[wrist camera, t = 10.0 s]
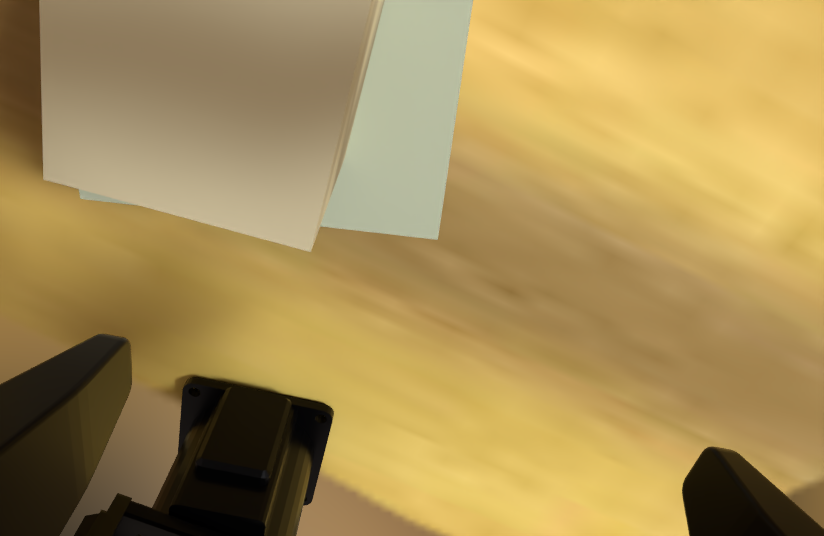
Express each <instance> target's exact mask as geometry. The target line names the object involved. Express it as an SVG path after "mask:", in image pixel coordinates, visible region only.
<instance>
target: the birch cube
mask: <svg viewBox="0 0 824 536" xmlns="http://www.w3.org/2000/svg"><path fill="white" fill-rule="evenodd" d="M384 1H385V0H39V10H40V54H41V97H42V141H43V180H47V181H51V182H54V183H58V184H62V185H65V186H69V187H73V188H77V189H80V190H84V191H88V192H91V193H95V194H99V195H102V196H106V197H110V198H113V199H117V200H121V201H124V202H128V203H132V204H136V205H139V206H143V207H147V208H150V209H154V210H158V211H161V212H165V213H169V214H172V215H176V216H180V217H183V218H187V219H191V220H194V221H198V222H202V223H206V224H209V225H213V226H217V227H220V228H224V229H228V230H231V231H235V232H239V233H242V234H246V235H250V236H253V237H257V238H261V239H265V240H268V241H272V242H276V243H279V244H283V245H287V246H290V247H294V248H298V249H301V250H305V251H309V252H311V250H312V247H313V244H314V242H315V239H316V236H317V233H318V230H319V228H320V225H321V222H322V219H323V217H324V214H325V211H326V208H327V206H328V203H329V200H330V197H331V195H332V192H333V189H334V186H335V184H336V181H337V178H338V175H339V173H340V170H341V167H342V164H343V162H344V159H345V155H346V151H347V147H348V143H349V139H350V135H351V131H352V127H353V124H354V120H355V116H356V112H357V108H358V104H359V100H360V96H361V92H362V88H363V84H364V80H365V76H366V72H367V68H368V64H369V60H370V56H371V52H372V48H373V44H374V40H375V36H376V32H377V28H378V25H379V21H380V17H381V13H382V9H383V5H384Z"/></svg>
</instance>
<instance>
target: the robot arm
mask: <svg viewBox="0 0 824 536" xmlns="http://www.w3.org/2000/svg"><path fill="white" fill-rule="evenodd" d="M131 385H132V363H131V345H130V342H129V340H128V339H126V338H124V337H119V336H113V335H108V334H98V335H96V336H94V337H92V338H90V339H88V340H86V341H84V342H82V343H80V344H78V345H76V346H74V347H72V348H70V349H68V350H66V351H64V352H62V353H60V354H58V355H57V356H54V357H53V358H51V359H49V360H47V361H45V362H43V363H41V364H39V365H37V366H35V367H33V368H31V369H30V370H27V371H25V372H23V373H21V374H19V375H18V376H15V377H14V378H12V379H10V380H8V381H6V382H4V383H2V384H0V536H59V535H60V534H61V532H62V530H63V529H64V527H65V525H66V523H67V522H68V520H69V518H70V517H71V515H72V513H73V512H74V510H75V508H76V507H77V505H78V503H79V501H80V499H81V498H82V496H83V494H84V492H85V490H86V489H87V487H88V484H89V482H90V480H91V478H92V476H93V474H94V472H95V470H96V468H97V465H98V463H99V461H100V459H101V456H102V454H103V452H104V450H105V447H106V445H107V443H108V441H109V438H110V436H111V434H112V432H113V429H114V427H115V424H116V423H117V420H118V418H119V416H120V414H121V411H122V409H123V407H124V405H125V402H126V400H127V398H128V396H129V393H130V389H131ZM194 388H196V389H198V390H196V389H194ZM319 415H324V416H319ZM333 415H334V411H333V409H332V408H331V407H330V406H328V405H325V404H321V403H317V402H312V401H307V400H302V399H298V398H293V397H288V396H284V395H279V394H274V393H270V392H265V391H260V390H255V389H251V388H246V387H241V386H237V385H232V384H227V383H223V382H218V381H213V380H208V379H204V378H199V377H192V378H189V379H188V380H187V382H186V383H185V385H184V388H183V392H182V406H181V420H180V434H179V447H178V455H177V457H176V459H175V461H174V463H173V465H172V467H171V469H170V472H169V474H168V476H167V478H166V480H165V482H164V484H163V486H162V488H161V491H160V493H159V495H158V497H157V499H156V501H155V503H154V505H153V507H152V508H150V507H147V506H144V505H142V504H139V503H136V502H133V501H131V499H132V498H130V497H127V496H124V495H122V494H119V493H118V494H117V495H116V497H115V499H114V500H113V502H112V504H111V505H110V507H109V509H108V511H104V510H101V512H100V513H99V514H93V515H87V516H85V517H84V519H83V521H82V523H81V524H80V526H79V528H78V530H77V531H76V533H75V535H74V536H296V534H297V530H298V525H299V521H300V516H301V512H302V507H303V505H308V504H310V503H311V502H312V499H313V495H314V491H315V487H316V483H317V479H318V475H319V471H320V467H321V464H322V460H323V456H324V452H325V448H326V444H327V440H328V436H329V432H330V428H331V424H332V420H333ZM682 495H683V501H684V507H685V513H686V518H687V524H688V530H689V536H824V529H823V528H822V527H821V526H820V525H819V524H818V523H816V522H815V521H814V520H813V519H812V518H811V517H810V516H809V515H807V514H806V513H805V512H804V511H803V510H802V509H800V508H799V507H798V506H797V505H796V504H795V503H794V502H793V501H792V500H790V499H789V498H788V497H787V496H786V495H785V494H784V493H783V492H781V491H780V490H779V489H778V488H777V487H776V486H775V485H774V484H772V483H771V482H770V481H769V480H768V479H767V478H766V477H765V476H763V475H762V474H761V473H760V472H759V471H758V470H757V469H755V468H754V467H753V466H752V465H751V464H750V463H749V462H748V461H746V460H745V459H744V458H743V457H742V456H741V455H740V454H738V453H737V452H735V451H733V450H729V449H724V448H719V447H708V448H706V449H705V450H704V451H703V452H702V453H701V455H700V456H699V458H698V459H697V461H696V462H695V464H694V466H693V467H692V469H691V470H690V472H689V473H688V475H687V476H686V478H685V480H684V483H683V488H682Z"/></svg>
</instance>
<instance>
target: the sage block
mask: <svg viewBox="0 0 824 536" xmlns="http://www.w3.org/2000/svg"><path fill="white" fill-rule="evenodd" d="M472 4H473V0H385V1H384V5H383V9H382V13H381V17H380V21H379V25H378V28H377V32H376V36H375V40H374V44H373V48H372V52H371V56H370V60H369V64H368V68H367V72H366V76H365V80H364V84H363V88H362V92H361V96H360V100H359V104H358V108H357V112H356V116H355V120H354V124H353V127H352V131H351V135H350V139H349V143H348V147H347V151H346V155H345V159H344V162H343V164H342V167H341V170H340V173H339V175H338V178H337V181H336V184H335V186H334V189H333V192H332V195H331V197H330V200H329V203H328V206H327V208H326V211H325V214H324V217H323V219H322V222H321V225H320V226H322V227H331V228H340V229H349V230H357V231H366V232H375V233H384V234H392V235H401V236H410V237H418V238H427V239H436V240H438V234H439V227H440V220H441V214H442V207H443V200H444V193H445V187H446V180H447V173H448V166H449V159H450V153H451V146H452V139H453V132H454V126H455V119H456V112H457V105H458V98H459V92H460V85H461V78H462V71H463V65H464V58H465V51H466V44H467V37H468V31H469V24H470V17H471V10H472ZM79 193H80V199H87V200H95V201H104V202H113V203H121V204H130V205H136V204H132V203H128V202H124V201H121V200H117V199H113V198H110V197H106V196H102V195H99V194H95V193H91V192H88V191H84V190H80V189H79Z"/></svg>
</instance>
